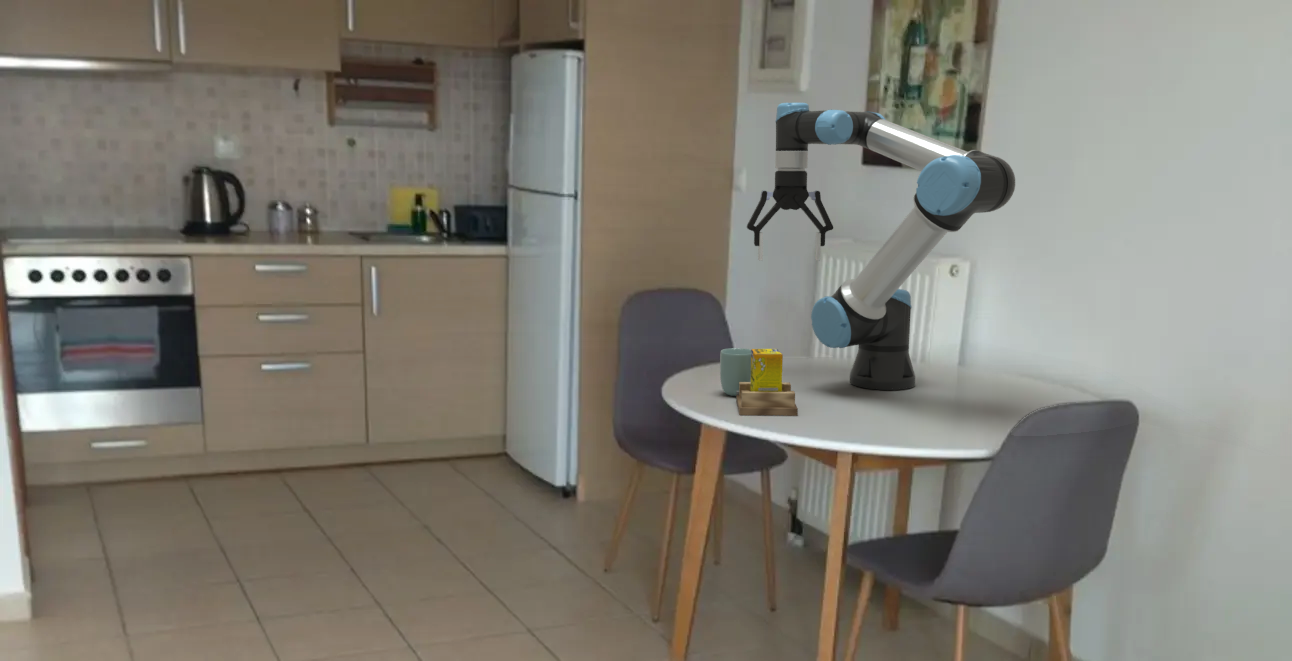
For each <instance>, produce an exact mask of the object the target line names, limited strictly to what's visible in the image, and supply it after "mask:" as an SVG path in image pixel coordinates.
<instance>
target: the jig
mask: <svg viewBox="0 0 1292 661" xmlns="http://www.w3.org/2000/svg"><path fill="white" fill-rule="evenodd" d="M750 391H751V382H739V391H736V396H735V397H736V399H735V400H736V401H735V402H736V406H737V411H738V413H739V416H773V415H775V416H777V415H779V416H781V415H783V416H782V417H785V416H786V417H787V416H788V417H791V416H793V417H794V416H795V417H797V416H798V415H799V414H798V412H799V410H798V409H799V408H798V406H797V404H796V393H795V391H794V390H792V384H791V382H790V381H789V382H783V381H782V392H750ZM775 416H774V417H775ZM777 417H778V416H777Z"/></svg>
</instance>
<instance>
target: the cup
mask: <svg viewBox="0 0 1292 661" xmlns="http://www.w3.org/2000/svg"><path fill="white" fill-rule="evenodd" d="M719 356H720V358H719V360H720V361H719V378H720V384H721V389H722V391H723V392H724V394H725V395H727V396H730V397H736V391H739V382H751V349H750V348H743V347H742V348H741V347H736V348H735V347H733V348H732V347H731V348H724V349H721V350H720V355H719Z"/></svg>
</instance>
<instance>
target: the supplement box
mask: <svg viewBox="0 0 1292 661" xmlns="http://www.w3.org/2000/svg"><path fill="white" fill-rule="evenodd" d="M783 356H784V355H783V353H782V352H780V350H779V349H778V348H752V349H751V391H750V392H782V382H783V362H784V361H783Z"/></svg>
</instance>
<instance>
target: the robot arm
mask: <svg viewBox="0 0 1292 661" xmlns="http://www.w3.org/2000/svg"><path fill="white" fill-rule="evenodd" d="M809 145H830V146H831V145H854V146H855V145H857V146H860V147H862V148H865V149H868V150H870V151H872V152H875V153H877V154H880V155H882V156H884V157H885V158H889V159H892V160H893V161H896V162H898V163H900V164H903V165H906V166H908V167H911V169H912V168H913V169H915V170H917V171H919V172H920V173H919V175H918V178H917V180H916V184H917V187H916V189H915V192H916V193H915V194H914V195H913V200H912V201H913V204H914V206H913V208H912V209H911V210H910V211H909V213H908V214H907V215H906V216H905V218H904V219H903V220H902V221H901V222H900V224H899V225H898V226H897V227H896V229H895V230H894V231H893V232H892V233H891V235H890V236H889V237H888V238H887V240H886V241H885V242H884V243H883V244H882V245H881V247H880V248H879V249H878V250H877V251H876V252H875V254H874V255H873V256H872V258H871V259H870V260H869V261H868V263H867V264H866V265H865V266H864V267H863V269H862V270H861V271H860V272H859V273H858V274H857V276H856V277H855V278H854V279H853V278H852V279H851V278H849V279H845V281H843V282H842V284H841V285H840V286H839V287H838V288H837V290H836V291H835V292H834V293H833V294H832V295H831V296H830V295H829V296H824V297H822V298H819V299H818V300H817V301H816V302H815V303H814V305H813V307H812V309H811V314H810V319H811V327H812V331H813V333H814V336H816V339H818V341H819V342H820V343H821V344H822V345H824V346H825V347H828V348H830V349H831V348H833V349H845V348H848V347H853V346H858V349H857V353H856V356H855V359H854V361H853V365H852V366H851V367H852V368H851V369H850V372H849V384H851V385H853V386H855V387H858V388H864V389H868V390H869V389H871V390H876V391H877V390H880V391H897V390H899V391H900V390H908V389H911V388H914V387H916V374H915V370H914V367H913V363H912V360H911V359H912V358H911V357H910V356H911V355H910V353H909V351H910V331H911V311H912V308H913V307H912V301H911V299H912V298H911V293H910V292H909V291H908V290H907V289H901V287H902V285H903V284H904V283H905V282H906V281H907V279H908V278H909V277H910V276H911V275H912V274H913V272H915V270H916V269H917V268H918V267H919V266H920V265H921V263H922V262H923V261H924V260H925V259H926V257H927V256H928V255H929V254H930V253H931V252H932V251H933V249H935V247H936V246H937V245H938V244H939V242H940V241H941V240H942V239H943V238H944V237H945V235H947V233H956V232H958V231H959V230H961V228H962V227H963V226H964V225H965V224H966V223H967V222H968V221H969V219H970V218H971V217H972V216H973V215H974V214H981V213H991V212H994V211H997V210H999V209H1001V208H1002V207H1004V206H1005V205H1006V204H1007V203H1009V201H1010V200H1011V198H1012V197H1013V194H1014V192H1015V191H1016V190H1015V189H1016V176H1015V172H1014V170H1013V169H1012V167H1011V166H1010V164H1009V163H1008V162H1007V161H1006V160H1004V159H1002V158H1001V157H999V156H995V155H992V154H989V153H985V152H982V151H980V150H977V149H971V150H969V151H967V150H964V149H961V148H959V147H956V146H954V145H950V144H949V143H946V142H943V141H941V140H938V139H936V138H933V137H930V136H928V135H925V134H923V133H920V132H917V131H915V130H912V129H910V128H908V127H905V126H902V125H900V124H896V123H894V122H891V121H889V120H888V119H886V118H885V117H884V116H883V114H881V113H879V112H873V111H868V110H867V111H845V110H842V109H826V110H824V109H823V110H812V111H811V110H810V105H809V104H808V103H806V102H781V103H780V104H779V103H778V105H777V108H776V117H775V160H774V161H775V162H774V164H775V168H776V169H777V170H776V171H775V172H774V189H773V191H767V190H764V189H763V190H761V193H760V199H759V202H758V204H757V205H756V207H755V209H754V211H753V213H752V215H751V216H750V218H749V221H748V222H747V224H746V228H747V230H749V231H752V232H753V244H754V246H755V247H758V253H757V254H758V256H757V257H758V259H757V260H758V261H762V262H763V256H764V255H763V252H764V251H763V250H764V232H762V230H763V228H764V227H765V226H766V225H767V224H768V223H769V222H770V220H771V219H772V218H773V217H774V216H775V215H776V214H777V212H778V211H779V210H780V209H782V210H784V211H785V210H786V211H789V210H793V211H797V210H801V211H802V212H804V214H805V216H806V217H807V218H808V219H809V220H810V221H811V222H812V224H813V225H814V226H815V227H816V228H817V230H818V231H819V232H815V252H814V254H815V259H814V260H815V261H817V262H820V261H821V247H825V246H826V245H825V244H826V233H827V232H830V231H832V230H834V225H833V223H832V221H831V219H830V217H829V214H828V213H827V210H826V208H825V206H824V204H823V201H822V199H821V198H822V197H821V196H822V195H821V191H819V190H814V191H808V172H807V170H806V169H808V163H809V162H808V160H809V158H808V154H809ZM771 197H772V198H773V199H774V201H775V203H774V204H773V205H772V207H771V209H770V210H768V212H766V214H765V215H764V216H763V218H762V219H761V220H760V221H759V222H758V224H757V225H755V224H756V222H757V220H758V218H759V216H760V215H761V213H762V211H763V208H764V206H765V205H766V202H767V201H770V198H771ZM809 197H810V200H812V201H814V203H815V205H816V207H817V210H818V212H819V214H820V216H821V218H822V221H823V223H824V225H823V224H822V223H821V222H820V221H819V219H818V218H817V217H816V215H815V214H814V213H813V212H812V211H811V209H810V208H809V207H808V206H807V204H806V203H805V202H806V201H807V200H808V199H809Z"/></svg>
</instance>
